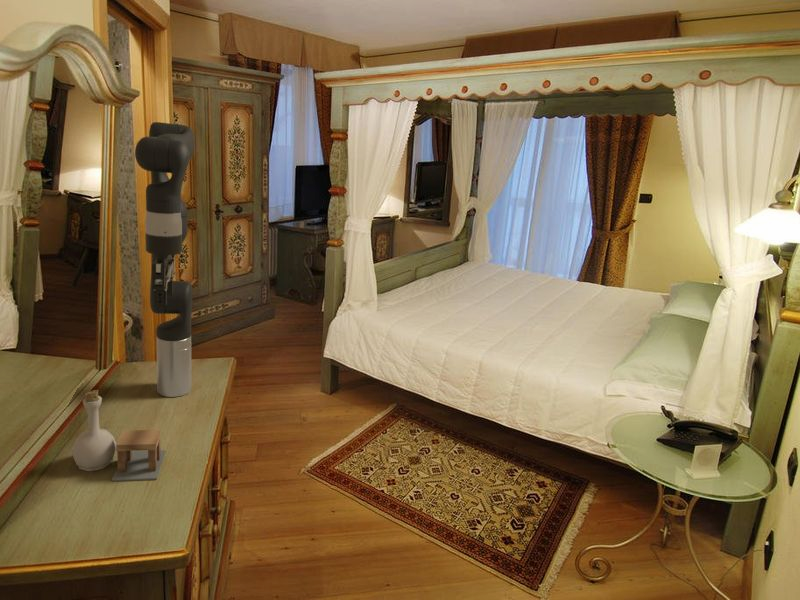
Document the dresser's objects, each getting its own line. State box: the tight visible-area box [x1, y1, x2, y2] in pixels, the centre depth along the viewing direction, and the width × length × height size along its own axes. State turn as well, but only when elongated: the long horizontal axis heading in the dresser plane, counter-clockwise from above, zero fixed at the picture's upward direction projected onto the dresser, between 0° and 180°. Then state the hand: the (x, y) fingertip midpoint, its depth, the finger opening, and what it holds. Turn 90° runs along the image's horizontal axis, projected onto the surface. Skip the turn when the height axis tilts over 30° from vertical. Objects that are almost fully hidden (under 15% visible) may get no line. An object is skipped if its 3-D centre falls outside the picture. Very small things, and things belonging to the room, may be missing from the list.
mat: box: [111, 449, 167, 482], centre depth 123 cm, size 11×9×1 cm
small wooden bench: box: [115, 429, 162, 472], centre depth 122 cm, size 8×6×7 cm
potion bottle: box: [71, 389, 117, 473], centre depth 120 cm, size 9×9×18 cm
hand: (164, 300), depth 125 cm, fingers open, 8 cm apart
